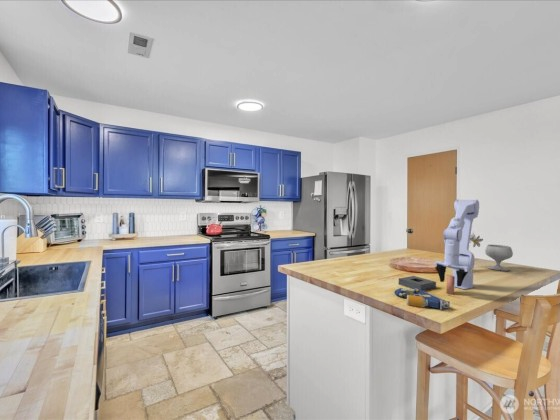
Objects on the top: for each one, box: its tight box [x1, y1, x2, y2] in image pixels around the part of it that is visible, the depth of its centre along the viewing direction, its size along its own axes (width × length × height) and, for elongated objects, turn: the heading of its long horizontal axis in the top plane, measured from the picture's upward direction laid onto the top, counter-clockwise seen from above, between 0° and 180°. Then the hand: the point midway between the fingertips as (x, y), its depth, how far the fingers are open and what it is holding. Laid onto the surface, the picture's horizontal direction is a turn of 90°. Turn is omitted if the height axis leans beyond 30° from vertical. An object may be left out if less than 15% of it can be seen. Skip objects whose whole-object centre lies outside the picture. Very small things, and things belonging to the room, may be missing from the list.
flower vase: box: [469, 232, 484, 248], centre depth 172 cm, size 13×18×25 cm
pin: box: [445, 275, 455, 295], centre depth 127 cm, size 3×3×8 cm
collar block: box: [398, 275, 437, 291], centre depth 138 cm, size 12×12×3 cm
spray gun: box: [393, 287, 451, 311], centre depth 116 cm, size 21×4×15 cm
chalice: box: [484, 244, 514, 272], centre depth 179 cm, size 14×14×15 cm
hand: (450, 283), depth 127 cm, fingers open, 7 cm apart
